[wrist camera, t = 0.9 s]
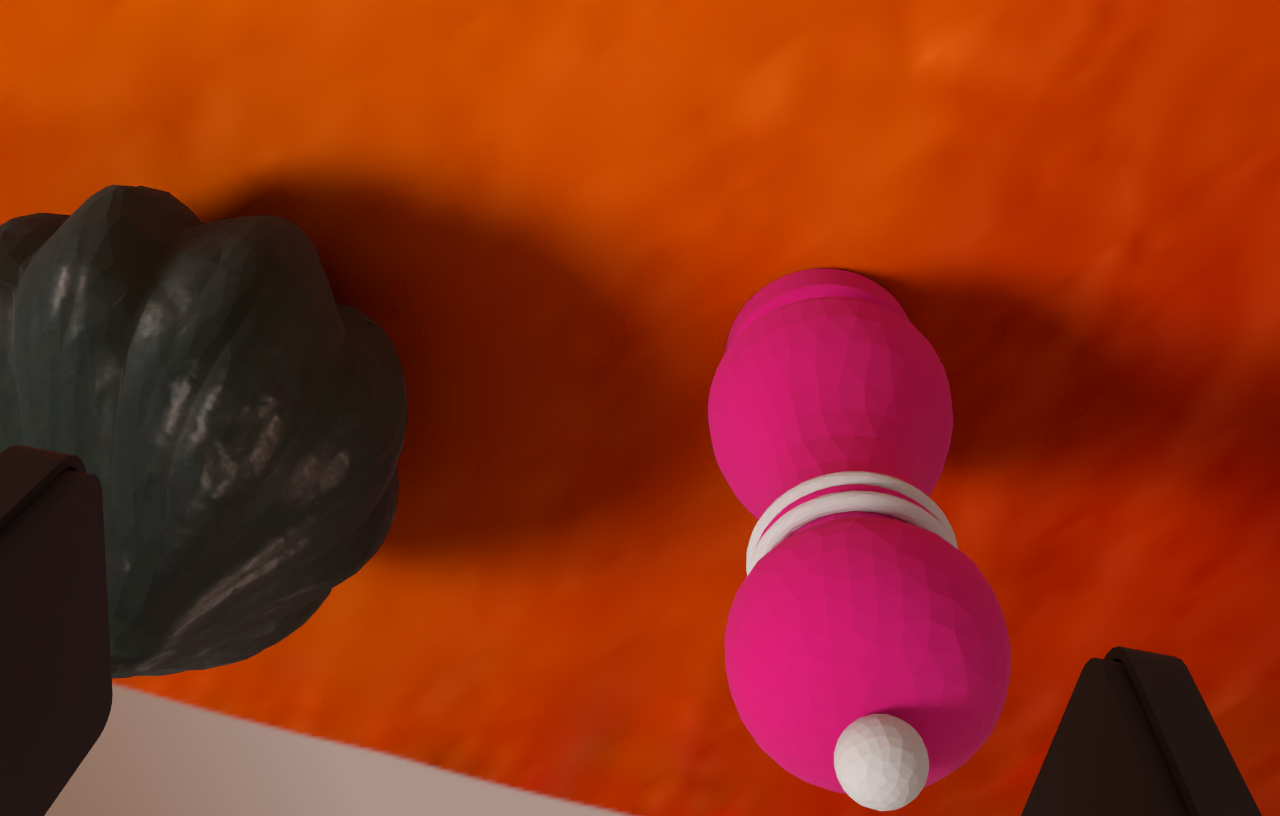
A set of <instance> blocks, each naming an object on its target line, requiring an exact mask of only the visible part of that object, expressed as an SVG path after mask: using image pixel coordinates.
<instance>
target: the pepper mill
mask: <svg viewBox="0 0 1280 816" xmlns="http://www.w3.org/2000/svg"><path fill="white" fill-rule="evenodd" d="M708 420H709V428H710V434H711V440H712V445H713V450H714V455H715V457H716V460H717V463H718V465H719V468H720V470H721V472H722V473H723V475H724V477H725V478H726V480H727V482H728V484H729V485H730V487H731V489H732V490H733V492H734V494H735V496H736V497H737V498H738V499H739V501H740V502H741V503H742V504H743V505H744V507H745V508H746V509H747V510H748V511H749V512H750V513H751V514H753V515H754V516H755V517H756V518H757V519H758V522H757V524H756V526H755V528H754V530H753V532H752V535H751V538H750V541H749V545H748V548H747V561H746V570H747V578H746V579H745V580H744V582H743V583H742V585H741V586H740V588H739V589H738V591H737V593H736V596H735V599H734V601H733V604H732V607H731V609H730V612H729V617H728V622H727V627H726V632H725V665H726V671H727V677H728V682H729V688H730V692H731V695H732V697H733V700H734V702H735V705H736V707H737V710H738V712H739V715H740V718H741V720H742V722H743V723H744V725H745V726H746V728H747V729H748V731H749V732H750V734H751V735H752V736H753V738H754V739H755V741H756V742H757V744H758V745H759V747H760V748H761V749H762V750H763V751H764V752H766V753H767V754H768V755H769V756H770V757H771V758H772V759H773V760H774V761H776V762H777V763H778V764H779V765H780V766H781V767H782V768H783V769H784V770H786V771H788V772H789V773H791V774H793V775H795V776H796V777H798V778H800V779H802V780H803V781H805V782H807V783H810V784H813V785H816V786H819V787H822V788H825V789H828V790H831V791H834V792H839V793H845V794H848V795H849V796H850V797H851V798H852V799H853V800H854V801H856V802H857V803H858V804H860V805H862V806H865V807H868V808H871V809H875V810H879V811H888V810H896V809H898V808H901V807H904V806H905V805H906V804H908V803H909V802H911V801H912V800H913V799H915V798H916V797H917V796H918V794H919V793H920V792H921V790H922V789H923V787H926V786H929V785H931V784H933V783H935V782H936V781H938V780H940V779H942V778H944V777H946V776H947V775H949V774H950V773H952V772H953V771H955V770H956V769H958V768H959V767H961V766H962V765H964V764H965V763H966V762H967V761H968V759H969V758H970V757H971V756H972V755H973V754H974V753H975V752H976V751H977V750H978V749H979V748H980V747H981V746H982V745H983V744H984V743H985V741H986V740H987V738H988V737H989V736H990V734H991V733H992V731H993V729H994V727H995V725H996V723H997V721H998V718H999V716H1000V714H1001V712H1002V709H1003V706H1004V702H1005V699H1006V694H1007V689H1008V684H1009V678H1010V673H1011V669H1010V642H1009V637H1008V633H1007V628H1006V623H1005V620H1004V616H1003V613H1002V610H1001V607H1000V604H999V602H998V600H997V598H996V596H995V594H994V592H993V590H992V588H991V586H990V585H989V583H988V582H987V580H986V579H985V577H984V576H983V575H982V573H981V572H980V570H979V569H978V567H977V566H976V565H975V563H974V562H973V561H971V560H970V559H969V558H968V557H967V556H966V555H965V554H964V553H963V552H961V551H960V550H958V547H957V542H956V538H955V535H954V532H953V530H952V528H951V526H950V524H949V522H948V520H947V518H946V516H945V515H944V513H943V512H942V511H941V509H940V508H939V507H938V506H937V505H936V503H935V502H934V501H932V500H931V499H930V498H929V495H930V494H931V492H932V490H933V489H934V487H935V485H936V483H937V481H938V479H939V477H940V475H941V473H942V470H943V467H944V464H945V461H946V457H947V454H948V450H949V447H950V443H951V437H952V430H953V423H954V421H953V410H952V400H951V393H950V387H949V382H948V379H947V376H946V372H945V369H944V366H943V364H942V363H941V361H940V359H939V357H938V355H937V353H936V352H935V350H934V348H933V347H932V345H931V344H930V343H929V341H928V340H927V339H926V338H925V337H924V336H923V335H922V334H921V333H920V332H919V331H918V330H917V329H916V327H915V326H914V325H913V324H911V323H910V320H909V318H908V316H907V315H906V313H905V311H904V310H903V308H902V307H901V305H900V304H899V302H898V301H897V300H896V299H895V298H894V297H893V296H892V295H891V294H890V293H889V292H888V291H887V290H886V289H884V288H883V287H881V286H880V285H878V284H877V283H875V282H874V281H872V280H870V279H868V278H866V277H863V276H861V275H859V274H856V273H853V272H849V271H844V270H839V269H824V268H821V269H809V270H804V271H799V272H795V273H792V274H789V275H786V276H783V277H781V278H779V279H777V280H775V281H773V282H771V283H770V284H768V285H767V286H765V287H764V288H762V289H761V290H760V291H759V292H757V293H756V294H755V295H754V296H753V297H752V298H751V299H750V300H749V301H748V302H747V303H746V304H745V305H744V307H743V308H742V309H741V311H740V312H739V314H738V315H737V317H736V319H735V321H734V323H733V325H732V328H731V330H730V333H729V336H728V341H727V345H726V352H725V354H724V356H723V358H722V360H721V362H720V364H719V366H718V367H717V370H716V373H715V376H714V379H713V382H712V385H711V388H710V395H709V401H708Z"/></svg>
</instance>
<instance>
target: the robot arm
mask: <svg viewBox="0 0 1280 816" xmlns="http://www.w3.org/2000/svg"><path fill="white" fill-rule="evenodd" d="M111 704H112V675H111V656H110V636H109V616H108V597H107V577H106V557H105V538H104V518H103V498H102V487H101V482H100V480H99V478H98V477H97V476H96V475H94V474H89V473H86V469H85V466H84V464H83V461H82V459H80V458H79V457H77V456H76V455H71V454H66V453H60V452H55V451H49V450H44V449H38V448H33V447H27V446H22V445H13V446H11V447H9V448H7V449H6V450H4V451H3V452H2V453H1V454H0V816H44V815H45V814H46V812H47V811H48V809H49V808H50V807H51V805H52V803H53V802H54V801H55V799H56V798H57V797H58V795H59V794H60V792H61V791H62V789H63V788H64V787H65V785H66V784H67V782H68V781H69V779H70V778H71V776H72V775H73V774H74V772H75V771H76V769H77V768H78V766H79V765H80V764H81V762H82V761H83V759H84V758H85V756H86V755H87V754H88V752H89V751H90V749H91V748H92V746H93V745H94V744H95V742H96V741H97V739H98V738H99V736H100V735H101V733H102V731H103V729H104V727H105V725H106V722H107V720H108V717H109V713H110V710H111ZM1021 816H1262V815H1261V813H1260V811H1259V809H1258V807H1257V805H1256V803H1255V801H1254V799H1253V797H1252V795H1251V793H1250V791H1249V789H1248V787H1247V785H1246V784H1245V782H1244V780H1243V778H1242V776H1241V774H1240V772H1239V770H1238V768H1237V766H1236V764H1235V762H1234V760H1233V758H1232V756H1231V754H1230V752H1229V750H1228V748H1227V746H1226V744H1225V742H1224V740H1223V738H1222V736H1221V734H1220V732H1219V730H1218V728H1217V726H1216V724H1215V722H1214V720H1213V718H1212V716H1211V714H1210V712H1209V710H1208V708H1207V706H1206V704H1205V702H1204V700H1203V698H1202V696H1201V694H1200V692H1199V690H1198V688H1197V686H1196V684H1195V682H1194V680H1193V678H1192V676H1191V674H1190V672H1189V670H1188V668H1187V667H1186V665H1185V664H1184V663H1183V661H1182V660H1181V659H1179V658H1177V657H1174V656H1168V655H1163V654H1157V653H1152V652H1146V651H1141V650H1136V649H1130V648H1125V647H1115V648H1112V649H1111V650H1110V651H1109V652H1108V653H1107V654H1106V656H1105V658H1104V659H1098V658H1092V659H1090V660H1089V661H1088V662H1087V663H1086V664H1085V666H1084V668H1083V670H1082V672H1081V674H1080V677H1079V679H1078V682H1077V684H1076V686H1075V689H1074V691H1073V693H1072V696H1071V698H1070V701H1069V703H1068V705H1067V708H1066V710H1065V712H1064V715H1063V717H1062V720H1061V722H1060V724H1059V727H1058V729H1057V731H1056V734H1055V736H1054V739H1053V741H1052V743H1051V746H1050V748H1049V750H1048V753H1047V755H1046V758H1045V760H1044V762H1043V765H1042V767H1041V769H1040V772H1039V774H1038V777H1037V779H1036V781H1035V784H1034V786H1033V788H1032V791H1031V793H1030V796H1029V798H1028V800H1027V803H1026V805H1025V808H1024V810H1023V812H1022V815H1021Z"/></svg>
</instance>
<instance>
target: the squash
mask: <svg viewBox="0 0 1280 816" xmlns="http://www.w3.org/2000/svg"><path fill="white" fill-rule="evenodd" d="M406 424H407V396H406V384H405V378H404V375H403V371H402V368H401V365H400V361H399V358H398V355H397V353H396V351H395V348H394V346H393V344H392V341H391V340H390V339H389V338H388V336H387V335H386V333H385V332H384V330H383V329H382V328H381V327H380V326H379V325H378V324H377V323H376V322H375V321H373V320H372V319H371V318H369V317H368V316H367V315H365V314H364V313H363V312H361V311H360V310H358V309H355V308H353V307H350V306H346V305H343V304H339V303H335V299H334V296H333V292H332V289H331V286H330V284H329V281H328V279H327V276H326V274H325V272H324V270H323V268H322V265H321V261H320V258H319V254H318V251H317V249H316V247H315V245H314V243H313V242H312V240H311V238H310V237H309V236H308V235H307V234H306V233H305V232H304V231H303V230H302V229H301V228H300V227H299V226H298V225H296V224H295V223H293V222H291V221H290V220H288V219H286V218H282V217H278V216H267V215H257V216H239V217H233V218H227V219H220V220H215V221H211V222H208V223H205V224H202V223H201V222H200V220H199V219H198V218H197V217H196V216H195V214H194V213H193V212H192V211H191V210H190V209H189V208H188V207H187V206H185V205H184V204H183V203H181V202H180V201H179V200H178V199H176V198H175V197H174V196H173V195H171V194H170V193H169V192H165V191H161V190H157V189H152V188H148V187H144V186H138V187H133V186H120V185H111V186H107V187H105V188H103V189H102V190H100V191H99V192H97V193H95V194H94V195H92V196H91V197H90V198H89V199H87V200H86V201H85V202H84V203H83V204H82V205H81V206H80V207H79V208H78V209H77V210H76V211H75V212H74V213H73V214H72V215H71V216H70V215H59V214H50V213H36V214H31V215H27V216H21V217H17V218H13V219H11V220H9V221H7V222H6V223H4V224H2V225H0V454H1V453H2V452H3V451H4V450H6V449H7V448H9V447H11V446H13V445H22V446H27V447H33V448H38V449H44V450H49V451H55V452H60V453H66V454H71V455H76V456H77V457H79V458H80V459H82V461H83V464H84V466H85V469H86V473H89V474H94V475H96V476H97V477H98V478H99V480H100V482H101V487H102V498H103V518H104V538H105V557H106V577H107V597H108V616H109V636H110V656H111V675H112V678H127V677H133V676H161V675H168V674H174V673H179V672H183V671H187V670H204V669H208V668H213V667H218V666H223V665H227V664H232V663H235V662H238V661H242V660H245V659H248V658H250V657H252V656H254V655H256V654H258V653H260V652H261V651H263V650H264V649H266V648H268V647H270V646H272V645H274V644H276V643H278V642H279V641H281V640H282V639H284V638H285V637H287V636H288V635H290V634H291V633H292V632H294V631H295V630H297V629H298V628H299V627H301V626H302V625H303V624H304V623H305V622H306V621H307V620H308V619H309V618H310V617H311V616H312V615H313V614H314V613H315V612H316V611H317V609H318V608H319V607H320V606H321V604H322V603H323V602H324V600H325V599H326V598H327V597H328V595H329V594H330V592H331V590H332V588H333V587H335V586H337V585H338V584H340V583H341V582H343V581H344V580H346V579H348V578H349V577H351V576H352V575H354V574H356V573H357V572H358V571H359V570H360V569H361V568H362V567H363V566H364V565H365V564H366V563H367V562H368V561H369V560H370V559H371V558H372V557H373V556H374V555H375V554H376V552H377V551H378V549H379V548H380V546H381V545H382V543H383V541H384V540H385V538H386V536H387V534H388V532H389V530H390V528H391V526H392V524H393V520H394V517H395V514H396V510H397V502H398V487H399V484H398V470H397V465H396V464H397V461H398V458H399V455H400V452H401V449H402V446H403V443H404V438H405V431H406Z"/></svg>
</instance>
